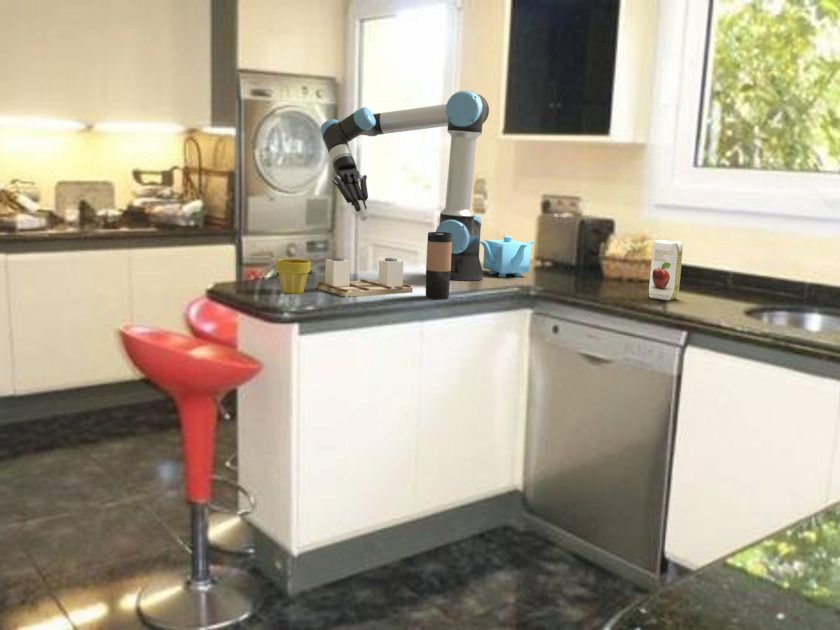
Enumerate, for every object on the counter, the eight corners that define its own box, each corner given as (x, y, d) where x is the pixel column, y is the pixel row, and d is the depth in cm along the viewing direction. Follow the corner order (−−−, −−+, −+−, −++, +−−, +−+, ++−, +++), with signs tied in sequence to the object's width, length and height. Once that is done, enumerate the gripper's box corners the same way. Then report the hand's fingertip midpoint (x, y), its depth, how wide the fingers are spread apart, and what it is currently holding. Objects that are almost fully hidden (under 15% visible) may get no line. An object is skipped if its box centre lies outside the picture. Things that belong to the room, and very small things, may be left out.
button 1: (325, 284, 265) (325, 257, 264) (341, 283, 269) (342, 256, 267) (333, 286, 261) (333, 259, 260) (349, 285, 265) (350, 258, 263)
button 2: (378, 284, 270) (379, 258, 268) (393, 283, 273) (394, 257, 272) (386, 286, 266) (387, 260, 264) (402, 285, 269) (403, 259, 268)
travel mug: (450, 296, 263) (453, 232, 259) (448, 300, 256) (451, 234, 252) (425, 294, 264) (428, 231, 260) (423, 298, 256) (426, 233, 253)
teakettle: (488, 270, 327) (490, 232, 325) (535, 274, 321) (538, 236, 318) (475, 276, 310) (477, 236, 307) (524, 280, 304) (527, 240, 301)
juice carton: (655, 295, 282) (660, 239, 279) (680, 298, 277) (685, 241, 274) (646, 297, 277) (651, 240, 273) (670, 301, 271) (676, 243, 268)
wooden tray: (316, 288, 267) (316, 281, 267) (381, 283, 282) (381, 277, 281) (345, 297, 253) (345, 290, 252) (412, 292, 268) (412, 285, 267)
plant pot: (317, 292, 260) (317, 260, 259) (294, 295, 252) (294, 263, 250) (292, 288, 266) (292, 257, 264) (269, 291, 258) (269, 260, 256)
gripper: (355, 166, 298) (376, 223, 290) (322, 167, 290) (343, 225, 283) (363, 154, 292) (385, 211, 285) (330, 155, 285) (352, 214, 277)
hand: (364, 218), depth 284 cm, fingers closed
